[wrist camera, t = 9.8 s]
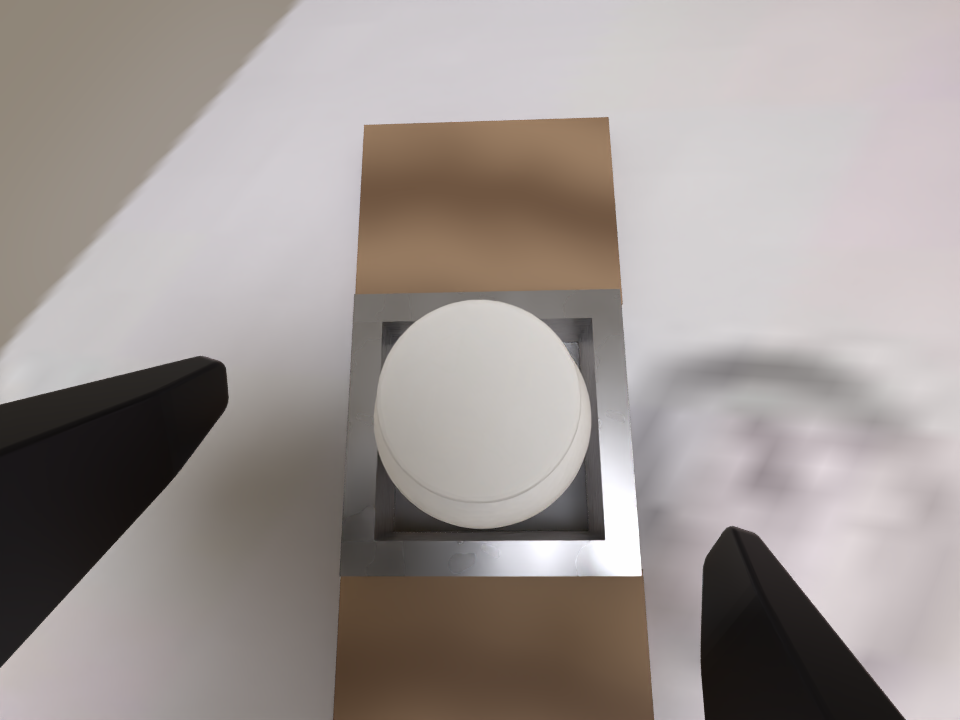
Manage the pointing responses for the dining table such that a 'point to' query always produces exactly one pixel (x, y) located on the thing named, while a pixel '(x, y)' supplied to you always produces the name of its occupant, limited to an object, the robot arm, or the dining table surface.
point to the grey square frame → (495, 552)
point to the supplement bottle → (481, 414)
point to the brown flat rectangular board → (485, 268)
